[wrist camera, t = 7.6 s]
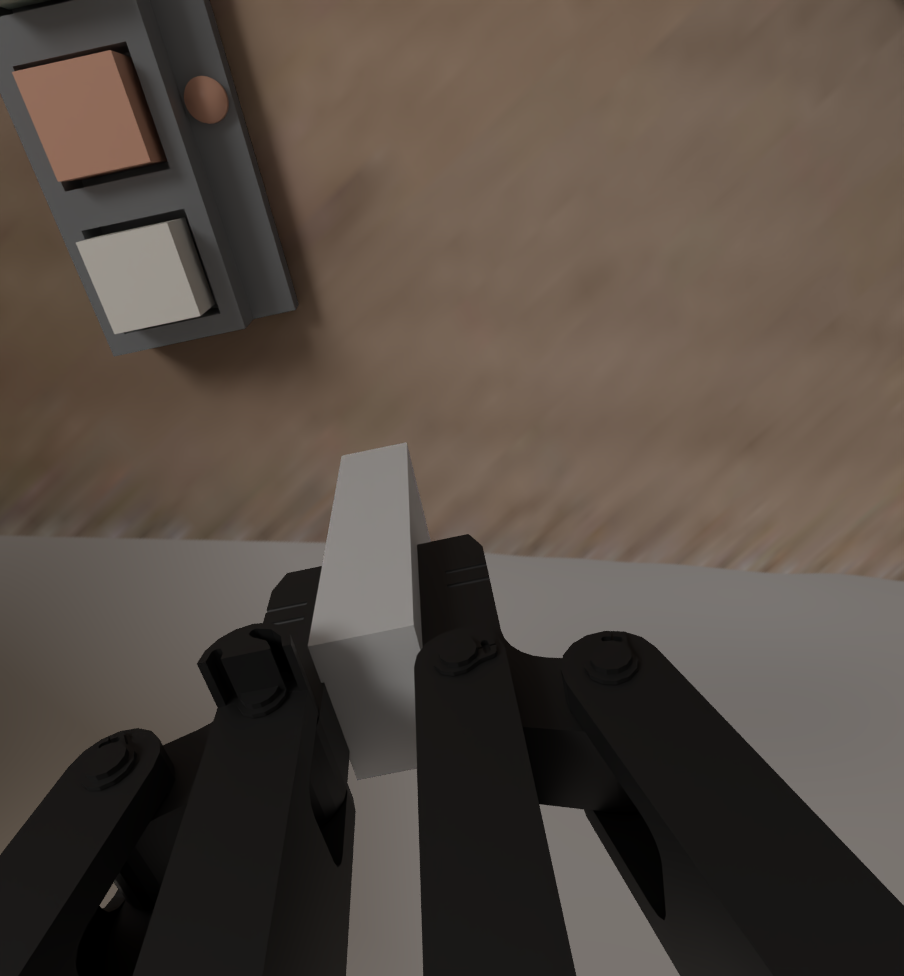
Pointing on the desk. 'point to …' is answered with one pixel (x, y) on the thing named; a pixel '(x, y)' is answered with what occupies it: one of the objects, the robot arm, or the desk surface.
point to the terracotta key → (91, 115)
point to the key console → (187, 145)
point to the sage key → (18, 3)
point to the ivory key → (147, 275)
